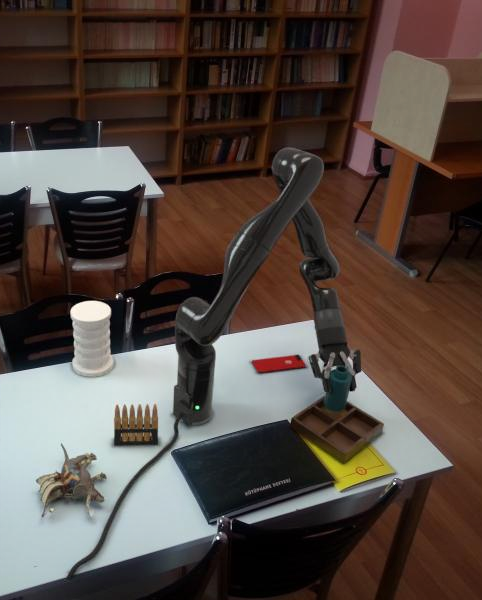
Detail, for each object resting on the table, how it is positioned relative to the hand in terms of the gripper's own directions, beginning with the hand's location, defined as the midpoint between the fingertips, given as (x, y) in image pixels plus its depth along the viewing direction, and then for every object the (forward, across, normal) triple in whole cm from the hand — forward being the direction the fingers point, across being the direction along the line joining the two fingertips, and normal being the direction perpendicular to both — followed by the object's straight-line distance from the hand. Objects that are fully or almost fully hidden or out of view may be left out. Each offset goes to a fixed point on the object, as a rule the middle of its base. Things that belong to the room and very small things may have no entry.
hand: (340, 392), depth 156 cm
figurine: (+15, -69, -3) cm, 71 cm away
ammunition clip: (+6, -52, +6) cm, 53 cm away
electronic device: (-11, -7, +24) cm, 28 cm away
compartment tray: (+9, -2, +4) cm, 10 cm away
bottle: (+3, 0, +5) cm, 6 cm away
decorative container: (-17, -60, +30) cm, 70 cm away
